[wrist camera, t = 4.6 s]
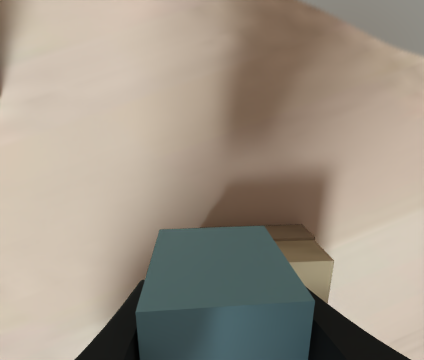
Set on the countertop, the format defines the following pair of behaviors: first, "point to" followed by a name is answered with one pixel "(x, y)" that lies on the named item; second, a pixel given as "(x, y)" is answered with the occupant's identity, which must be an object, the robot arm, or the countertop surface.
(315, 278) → the slab top
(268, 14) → the countertop surface
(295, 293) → the teal cube
